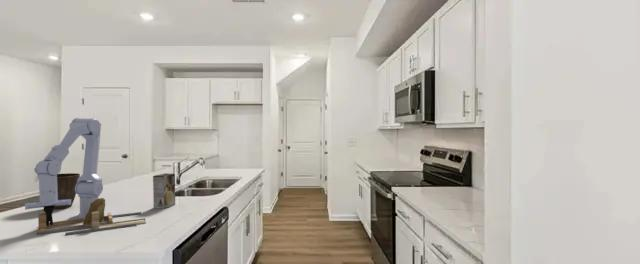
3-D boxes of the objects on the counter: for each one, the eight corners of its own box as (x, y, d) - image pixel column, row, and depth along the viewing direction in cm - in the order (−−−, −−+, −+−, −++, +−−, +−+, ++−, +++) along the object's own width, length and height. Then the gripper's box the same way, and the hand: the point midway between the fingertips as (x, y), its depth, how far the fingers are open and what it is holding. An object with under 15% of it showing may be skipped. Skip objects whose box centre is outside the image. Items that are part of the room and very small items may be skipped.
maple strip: (91, 227, 144) (91, 211, 144) (144, 220, 155) (144, 205, 155) (92, 230, 141) (91, 214, 140) (145, 223, 151) (145, 207, 151)
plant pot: (38, 208, 176) (37, 175, 176) (72, 202, 189) (72, 172, 188) (50, 212, 168) (49, 178, 167) (85, 206, 180) (85, 174, 180)
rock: (88, 221, 143) (113, 212, 152) (78, 203, 145) (103, 196, 153) (79, 234, 148) (103, 225, 157) (70, 217, 150) (94, 209, 158)
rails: (40, 225, 146) (40, 224, 146) (140, 213, 167) (140, 211, 167) (34, 239, 130) (34, 237, 130) (147, 223, 150) (147, 222, 150)
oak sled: (39, 226, 145) (39, 211, 145) (110, 217, 159) (110, 203, 159) (36, 234, 136) (36, 217, 136) (112, 224, 150) (112, 209, 149)
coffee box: (164, 203, 187) (164, 173, 187) (175, 204, 186) (175, 173, 185) (152, 207, 178) (152, 175, 178) (164, 208, 177) (164, 176, 176)
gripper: (23, 194, 135) (24, 230, 135) (70, 190, 143) (71, 224, 143) (25, 191, 141) (26, 225, 141) (71, 187, 149) (71, 220, 149)
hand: (49, 224), depth 143 cm, fingers closed, pressing on oak sled
